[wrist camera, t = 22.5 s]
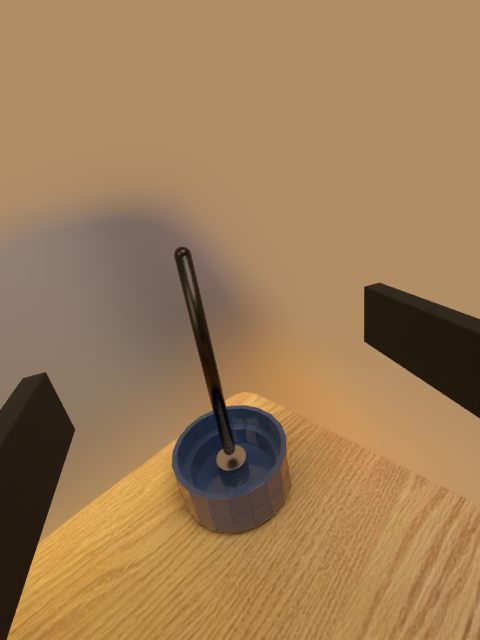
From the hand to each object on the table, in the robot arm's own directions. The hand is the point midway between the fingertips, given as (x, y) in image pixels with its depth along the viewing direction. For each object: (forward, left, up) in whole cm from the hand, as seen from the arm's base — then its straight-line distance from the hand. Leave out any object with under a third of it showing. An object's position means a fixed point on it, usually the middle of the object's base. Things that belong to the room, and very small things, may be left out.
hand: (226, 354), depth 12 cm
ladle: (+10, -6, -20) cm, 23 cm away
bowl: (+10, -5, -21) cm, 24 cm away
